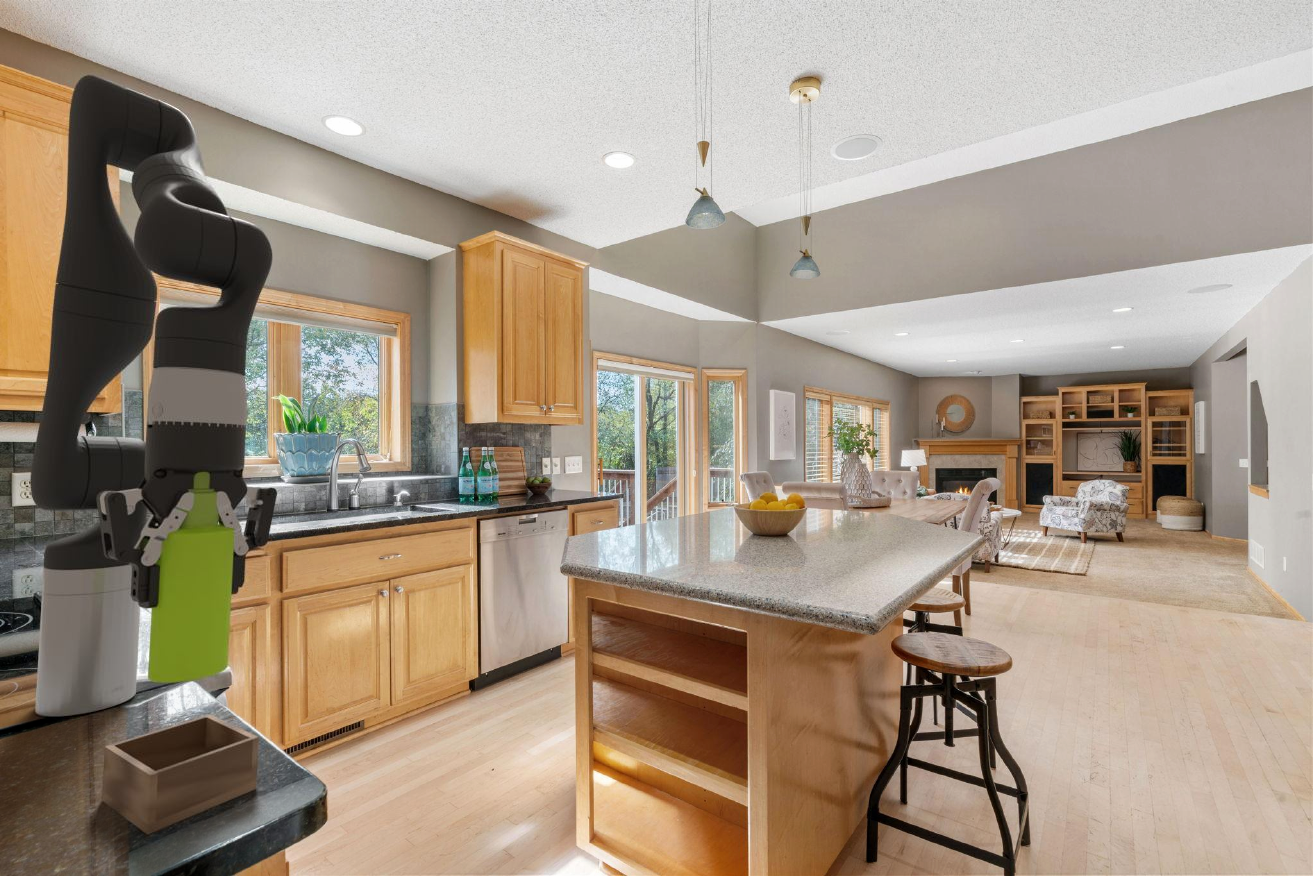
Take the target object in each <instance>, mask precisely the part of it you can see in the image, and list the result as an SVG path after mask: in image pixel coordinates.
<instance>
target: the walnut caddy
mask: <svg viewBox="0 0 1313 876" xmlns="http://www.w3.org/2000/svg"><path fill="white" fill-rule="evenodd" d="M259 738H260V737H259V736H257V735H255V734H253V733H252V732H249V731H247V730H245V729H242V728H240V727H238V726H236V725H234V724H231V723H230V722H227V721H225V720H224V719H221V718H219V717H217V716H215V715H212V714H207V715H202V716H199V717H196V718H194V719H190V720H186V721H183V722H180V723H177V724H174V725H171V726H166V727H164V728H160V729H157V730H154V731H150V732H148V733H145V734H141V735H138V736H134V737H131V738H128V739H124V740H121V741H118V742H114V743H112V744H108V745H105V746H104V750H103V751H104V755H103V771H102V772H103V773H102V789H101V790H102V791H101V792H102V793H101V794H102V795H101V801H102V802H103V803H105V804H106V805H107V806H109V807H110V808H111V809H112V810H114V811H115V812H116V813H118V814H119V815H121V817H123V818H125V819H126V820H127V821H128V822H130V823H131V824H133V825H134V826H136V827H137V828H138V829H139V830H141V831H142V832H143V833H145V834H146V835H150V834H153V833H155V832H158V831H160V830H162V829H165V828H167V827H169V826H171V825H174V824H177V823H179V822H181V821H183V820H186V819H188V818H190V817H192V816H195V815H197V814H201V813H202V812H205V811H207V810H210V809H211V808H214V807H216V806H218V805H221V804H225V803H226V802H228V801H231V800H234V799H235V798H239V797H240V796H242V795H244V794H245V795H246V794H247V793H249V792H252V791H254V790H257V783H258V764H259V763H258V761H259V760H258V759H259V740H260V739H259Z"/></svg>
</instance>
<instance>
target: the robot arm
mask: <svg viewBox="0 0 1313 876" xmlns="http://www.w3.org/2000/svg"><path fill="white" fill-rule="evenodd" d="M70 101H71V102H70V107H69V108H70V109H69V117H68V118H69V119H68V137H67V138H68V140H67V144H68V145H67V173H66V174H67V175H66V176H67V177H66V181H67V182H66V201H65V202H66V203H65V204H66V205H65V206H66V207H65V217H64V224H63V231H62V236H61V237H62V240H61V245H60V251H59V259H58V266H57V271H56V277H55V286H54V294H53V295H54V296H53V304H52V313H51V314H52V315H51V316H52V317H51V329H50V331H51V332H50V334H51V336H50V346H49V347H50V348H49V349H50V350H49V351H50V352H49V362H48V371H47V373H48V374H47V380H46V388H45V393H44V399H43V404H42V410H41V415H40V420H39V425H38V430H37V435H36V438H35V440H36V441H35V446H34V451H33V457H32V463H31V467H30V468H31V469H30V481H29V482H30V484H29V485H30V492H31V497H32V501H33V503H34V504H35V505H36V507H38V508H39V509H41V510H44V511H49V512H50V511H51V512H52V511H54V512H55V511H56V512H57V511H58V512H59V511H83V510H85V511H86V510H87V511H89V510H97V513H98V521H99V522H98V523H97V524H95V525H94V526H91V527H89V528H88V529H86V530H83V531H81V532H77V533H75V534H71V535H69V536H65V537H63V538H60V539H57V540H54V541H52V542H50V543H49V544H48V545H47V546H46V548H45V549H44V552H43V564H42V565H43V566H42V567H43V570H42V571H43V572H42V586H41V605H40V606H41V609H40V623H39V641H38V642H39V643H38V660H37V678H36V688H35V689H36V690H35V691H36V692H35V694H36V695H35V706H34V707H35V708H34V709H35V710H34V712H35V714H37V715H39V716H42V717H66V716H73V715H74V716H76V715H82V714H87V713H92V712H97V711H100V710H104V709H108V708H111V707H114V706H117V705H120V704H122V703H125V702H127V701H129V700H131V699H132V698H133V697H134V696H136V693H137V680H138V679H137V675H138V660H139V644H140V643H139V641H140V640H139V639H140V623H141V622H140V621H141V608H143V609H146V610H147V609H152V608H154V607H157V605H158V598H159V579H160V566H158V565H156V562H157V560H158V558H159V557H160V555H161V553H162V543H163V541H164V540H166V539H167V535H168V533H171V532H174V531H178V529H179V527H180V525H181V524H182V522H183V520H184V519H185V517H186V515H187V514H188V513H189V512H190V510H191V509H192V507H193V501H194V493H191V492H189V491H188V489H193V487H194V476H195V475H196V474H197V473H199V472H208V473H209V474H210V486H209V489H215V490H214V492H217V509H218V513H219V525H221V526H224V527H229V528H234V529H235V531H234V551H233V571H232V591H231V596H232V595H237V594H238V593H239V589H240V588H242V587H243V586H244V584H245V578H246V577H245V575H246V558H247V554H248V553H249V552H250V551H252V550H254V549H257V548H259V547H261V548H262V547H264V546H266V545H267V544H268V542H269V538H270V537H269V536H270V533H271V531H270V530H271V527H272V522H273V516H274V512H275V506H276V502H277V497H278V490H277V489H276V488H274V487H270V486H269V487H268V486H255V487H254V486H248V485H247V483H246V482H245V479H244V476H243V472H244V469H245V461H246V459H245V457H246V456H245V455H246V440H247V439H246V437H247V436H246V435H247V434H246V433H247V422H248V417H249V415H248V396H247V395H248V393H247V387H246V368H247V367H246V362H247V348H248V346H247V344H248V343H247V342H248V336H249V331H250V326H251V322H252V320H253V315H254V312H255V309H256V306H257V303H258V300H259V298H260V295H261V293H262V290H263V289H264V287H265V284H266V281H267V279H268V276H269V274H270V271H271V268H272V265H273V249H272V246H271V243H270V240H269V238H268V237H267V235H266V233H265V232H264V231H263V230H262V229H261V228H260V227H258V226H257V225H256V224H254V223H252V222H249V221H246V220H243V219H240V218H236V217H234V216H233V217H232V216H228V212H227V209H226V207H225V205H224V203H223V201H222V199H221V198H220V196H219V195H218V193H217V191H216V190H215V189H214V187H213V186H212V184H211V183H210V181H209V180H208V178H207V176H206V172H205V166H204V162H203V161H204V160H203V158H202V152H201V150H200V145H199V142H198V137H197V133H196V131H195V129H194V126H193V124H192V122H191V121H190V119H189V118H188V116H187V115H186V113H183V112H182V111H181V110H180V109H178V108H177V107H175V106H173V105H172V104H169V103H167V102H164V101H162V100H161V99H156V98H155V97H152V96H149V95H148V94H144V93H141V92H139V91H137V90H134V89H132V88H129V87H127V86H123V85H121V84H119V83H116V82H113V81H111V80H108V79H107V78H106V79H105V78H103V77H100V76H96V75H91V74H87V75H84V76H82V77H81V78H80V79H79V80H78V81H77V83H76V85H75V86H74V90H73V92H72V96H71V100H70ZM108 166H111V167H114V168H118V169H121V170H125V171H127V172H132V176H131V185H130V186H131V193H132V196H133V198H134V200H135V202H136V204H137V207H138V209H139V211H140V215H139V217H138V220H137V222H136V226H135V230H134V236H133V238H132V237H131V235H130V234H129V232H128V230H127V228H126V226H125V225H124V223H123V221H122V218H121V216H120V213H119V212H118V210H117V208H116V204H115V202H114V198H113V195H112V193H111V189H110V182H109V177H108ZM153 273H155V274H156V275H158V276H160V277H163V278H166V279H170V280H174V281H179V282H184V283H189V284H194V285H199V286H205V287H210V288H212V289H213V288H215V289H219V290H220V291H221V292H220V296H219V299H218V301H217V302H216V303H215V304H213V305H175V306H170V307H166V308H164V309H163V308H162V310H161V311H159V313H158V314H157V316H156V308H157V299H158V287H157V283H156V280H155V277H154V274H153ZM155 318H156V320H155ZM154 325H155V326H154ZM153 332H154V343H153V344H154V345H153V362H152V368H153V369H152V375H151V379H150V384H149V389H148V394H147V409H146V411H147V412H146V431H145V441H144V440H142V439H141V438H136V437H128V436H127V437H124V436H102V435H101V436H99V435H97V436H96V435H79V433H80V429H81V425H82V424H83V421H84V419H85V416H87V415H86V414H87V413H88V411H89V409H90V407H91V405H92V404H93V403H94V401H95V400H96V398H98V396H99V395H100V393H101V392H102V391H103V390H104V388H106V387H107V386H108V385H109V384H110V383H111V382H112V381H113V380H114V379H115V378H116V377H117V376H118V375H119V374H120V373H122V372H123V370H125V369H126V368H128V366H129V365H130V364H131V363H132V362H134V361H135V359H136V358H137V357H139V356H140V354H141V353H142V352H143V351H144V350H145V349H146V347H147V346H148V345H149V343H150V341H151V339H152V336H153ZM243 499H245V505H246V506H247V507H248V511H247V516H246V521H245V526H244V532H243V533H242V530H243V529H242V525H241V524H240V521H239V519H238V517H237V515H236V513H235V511H234V510H235V509H236V508H237V507H238V505H239V504H240V503H241V502H242V501H243ZM148 511H149V512H150V513H151V515H150V517H149V518H148V520H147V517H148Z"/></svg>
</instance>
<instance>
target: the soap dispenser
mask: <svg viewBox="0 0 1313 876" xmlns="http://www.w3.org/2000/svg"><path fill="white" fill-rule="evenodd" d="M209 486H210V474H209V473H208V472H199V473H197V474H196V475H195V476H194V487H193V489H188V491H189V492H191V493H194V501H193V507H192V509H191V510H190V512H189V513H188V514H187V515H186V517H185V519H184V520H183V522H182V524H181V525H180V527H179V529H178V531H174V532H171V533H168V535H167V539H166V540H164V541H163V543H162V553H161V555H160V557H159V558H158V560H157V562H156V565H158V566H160V579H159V598H158V605H157V607H154V608H151V611H150V612H151V615H150V616H151V619H150V631H149V632H150V633H149V635H150V636H149V648H148V650H149V652H148V653H149V654H148V655H149V656H148V669H147V679H148V681H150V682H153V683H161V684H163V683H164V684H170V683H171V684H172V683H173V684H174V683H184V682H191V681H196V680H200V679H204V678H207V677H208V678H209V677H212V676H215V675H218V674H220V673H221V672H222V673H223V671H225V670H226V669H227V668H228V666H229V665H228V664H229V650H230V649H229V646H230V627H231V607H232V595H231V591H232V571H233V551H234V531H235V529H234V528H229V527H224V526H221V525H219V513H218V509H217V492H214V490H215V489H209Z"/></svg>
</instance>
